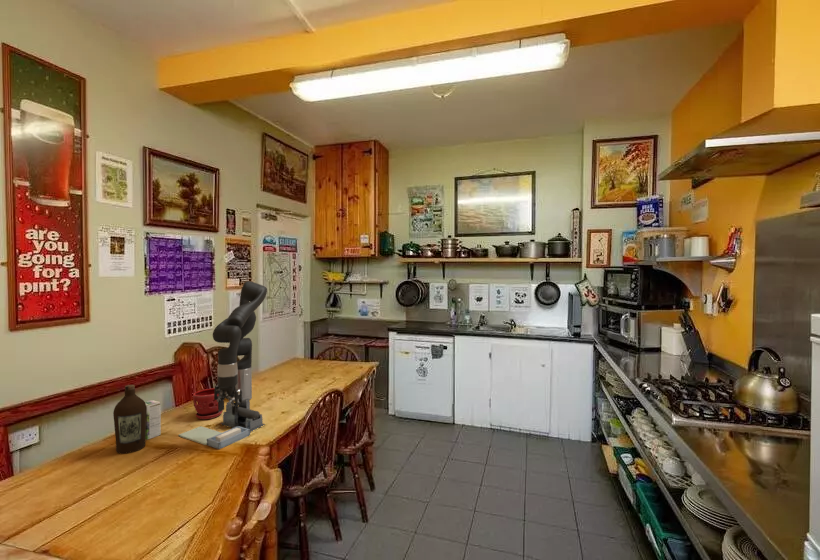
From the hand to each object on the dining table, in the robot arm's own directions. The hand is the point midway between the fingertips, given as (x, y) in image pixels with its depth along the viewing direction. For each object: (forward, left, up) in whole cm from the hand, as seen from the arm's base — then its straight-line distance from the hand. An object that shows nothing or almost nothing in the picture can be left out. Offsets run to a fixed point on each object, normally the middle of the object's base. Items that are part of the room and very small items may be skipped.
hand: (228, 412), depth 159 cm
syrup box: (-33, -13, -12) cm, 37 cm away
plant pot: (-32, +13, -12) cm, 36 cm away
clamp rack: (-8, +13, -12) cm, 19 cm away
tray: (0, 0, -12) cm, 12 cm away
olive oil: (-28, -23, -12) cm, 38 cm away
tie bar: (0, 0, -11) cm, 11 cm away
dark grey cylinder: (-8, +13, -7) cm, 17 cm away
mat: (-13, -2, -12) cm, 18 cm away
